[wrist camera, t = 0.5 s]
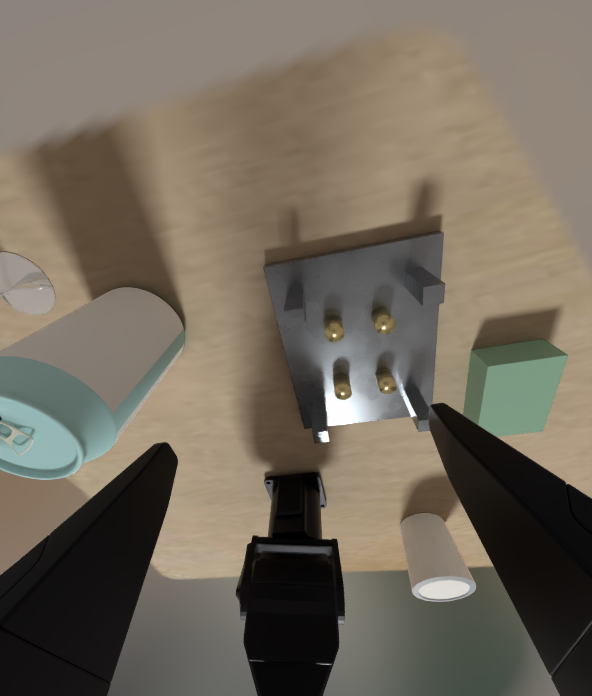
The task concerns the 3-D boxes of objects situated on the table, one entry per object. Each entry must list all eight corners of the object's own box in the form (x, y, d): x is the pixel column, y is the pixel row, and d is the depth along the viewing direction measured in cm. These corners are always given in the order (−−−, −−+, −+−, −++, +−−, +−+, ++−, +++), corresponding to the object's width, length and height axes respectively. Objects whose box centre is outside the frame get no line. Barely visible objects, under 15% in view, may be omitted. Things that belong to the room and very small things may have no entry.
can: (107, 353, 24) (-37, 478, 14) (93, 276, 21) (-113, 366, 11) (188, 367, 25) (105, 497, 15) (187, 294, 21) (77, 397, 11)
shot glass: (452, 532, 38) (480, 598, 32) (401, 541, 39) (419, 606, 33) (443, 505, 35) (473, 573, 29) (389, 516, 36) (405, 583, 30)
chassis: (428, 408, 26) (448, 445, 23) (304, 422, 28) (304, 460, 24) (438, 230, 19) (472, 243, 15) (264, 264, 20) (255, 283, 16)
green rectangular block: (521, 408, 27) (542, 431, 24) (461, 416, 27) (475, 438, 25) (540, 336, 23) (568, 355, 20) (469, 347, 23) (487, 366, 21)
